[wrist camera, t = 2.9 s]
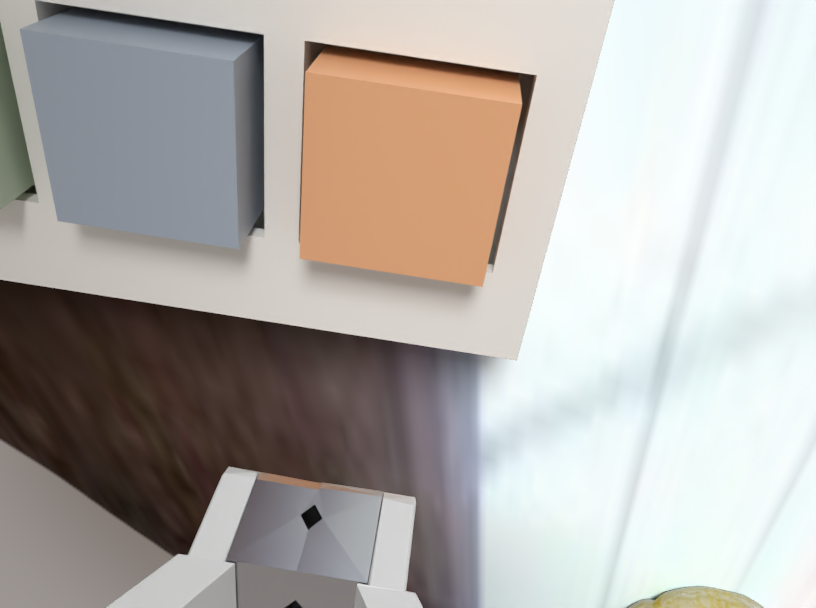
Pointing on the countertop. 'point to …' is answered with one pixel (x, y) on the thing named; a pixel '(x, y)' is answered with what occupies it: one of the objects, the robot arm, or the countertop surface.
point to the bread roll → (698, 599)
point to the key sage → (11, 138)
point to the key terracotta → (405, 163)
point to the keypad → (283, 156)
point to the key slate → (150, 124)
